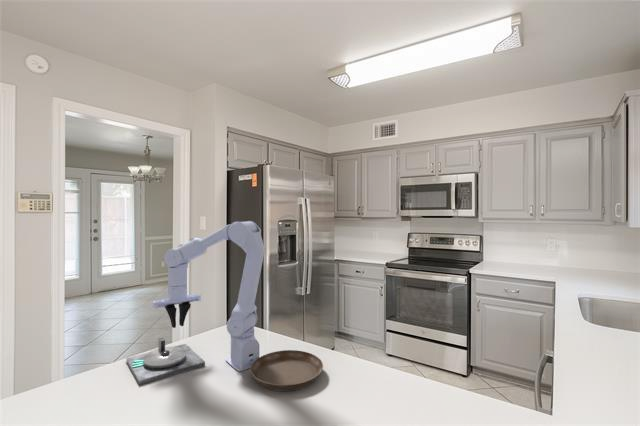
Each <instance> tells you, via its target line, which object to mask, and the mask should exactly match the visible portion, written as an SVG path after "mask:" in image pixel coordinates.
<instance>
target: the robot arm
mask: <svg viewBox="0 0 640 426" xmlns="http://www.w3.org/2000/svg"><path fill="white" fill-rule="evenodd" d="M225 240H227V241H230V240H231V242H232V243H234V244H236V245H237V246H239V247H240V248H241V249H242V250H243V251H244V253H245V254H246V255H245V261H244V265H243V271H242V277H241V281H240V286H239V291H238V296H237V302H236V304H235V306H234V308H233V309H232V311H231V315H230V318H229V319H228V320H227V321H226V330H227V332H228V334H229V335H230V357H229V358H226V359H225V362H226V363H227V364H229V365H230V366H231V367H232V368H234V370H235V371H237V372H242V371H246V370H248V369H251V366H252V364H253V363H254V361H255V360H257V359H258V358H260V342H259V341H258V340H257V338H256V336H255V325H256V324H257V323H258V314H257V309H258V307H257V305H256V304H255V302H256V299H257V298H256V297H257V293H258V286H259V282H260V278H261V277H260V276H261V271H262V266H263V262H264V256H265V250H266V247H265V245H264V241H263V238H262V229H261V228H260V227H259V226H258V224H257V223H256V222H254V221H252V220H247V221H233V222H232V223H231V224H227V225H224V226H223V227H221V228H220V229H218V230H215V231H214V232H212V233H210V234H209V235H207V236H205V237H203V238H200V237H191V238H189V241H187V242H185V243H184V244H183V243H181V244H179V245H178V246H177V248H169V249H168V250H167V251H166V252H165V254H164V257H163V260H164V263H165V264H166V266H167V270H168V271H167V275H168V276H167V280H168V282H167V291H168V292H167V293H168V294H167V297H166V298H162V299H159V300H158V299H157V300H153V301H152V308H153V309H159V308H164V309H165V310H166V313H167V314H168V317H169V319H170V325H171V327H172V328H173V329H176V326H177V321H176V320H177V319H176V316H177V307H176V305H178V310H179V311H178V312H179V315H178V316H179V318H178V319H179V320H178V323H179V326H180V327H184V325H185V320H186V317H187V315H188V312H189V310H190V309H191V303H192V302H193V303H194V302H201V301H202V300H201V299H202V297H201V294H199V293H198V294H188V268H189V263H190V262H191V261H192V260H194V259H196V258H198V257H201V256H202V255H204V254H206V252H207V250H208V249H209V248H210V247H213V246H214V245H216V244H218V243H220V242H223V241H225Z"/></svg>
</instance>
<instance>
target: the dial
mask: <svg viewBox="0 0 640 426" xmlns="http://www.w3.org/2000/svg"><path fill="white" fill-rule="evenodd" d="M157 346H158V348H157V349H154V350H151V351H149V352H146V353H147V354H146V353H145V354H146V355H145V356H144V358H143V364H144V366H146V367H148V368H166V367H170V366H174V365H176V364H179V363H181V362H182V361H184V360H185V358H186V350H185V349H184V348H181V347H174V346H166V340H165V338H163V337H159V338H158V345H157Z"/></svg>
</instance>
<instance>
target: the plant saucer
mask: <svg viewBox="0 0 640 426" xmlns="http://www.w3.org/2000/svg"><path fill="white" fill-rule="evenodd" d="M323 368H324V364H323V362H322V360H321V358H319V357H318V356H316V355H315V354H313V353H310V352H307V351H302V350H297V349H296V350H295V349H293V350H292V349H290V350H289V349H286V350H278V351H271V352H269V353H266V354H263V355H262V356H259V358H258V359H257V360H255V361H254V363H253V364H252V366H251V368H250V373H251V375H252V377H253V378H254V379H255V380H256V382H257V383H258V384H259V385H260V386H261V385H262V386H263V387H265V388H267V389H269V390H273V391H279V392H287V391H288V392H289V391H297V390H300V389H304V388H305V387H308V386H309V385H311V384H312V383H314V381H315V380H317V379H318V377H319V376H320V375H321V373H322V372H323Z"/></svg>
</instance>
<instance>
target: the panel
mask: <svg viewBox="0 0 640 426" xmlns="http://www.w3.org/2000/svg"><path fill="white" fill-rule="evenodd" d="M173 347H181V348H184V349H185V350H186V358H185V360H184V361H182V362H181V363H179V364H176V365H174V366H170V367H166V368H148V367H146V366H144V364H143V358H144V356H145V355H146V354H147V353H148V352H146V353H142V354H138V355H134V356H131V357H126V359H125V360H126V364H127V366H128V367H129V369H130V371H131V373H132V374H133V376H134V379H135V380H136V382H137V383H138V385H139V386H141V385H145V384H147V383H148V384H149V383H152V382H156V381H159V380H161V379H165V378H168V377H172V376H176V375H179V374H181V373H182V374H183V373H185V372H187V371H189V372H190V371H191V370H197V369H199V368H202V367H205V366H206V361H205V360H204V359H203V358H202V357H200V355H198V353H196V352H195V351H194V350H193V349H192V348H191V347H190V346H189V345H188V344H187V343H183V344H179V345H174V346H173Z"/></svg>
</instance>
